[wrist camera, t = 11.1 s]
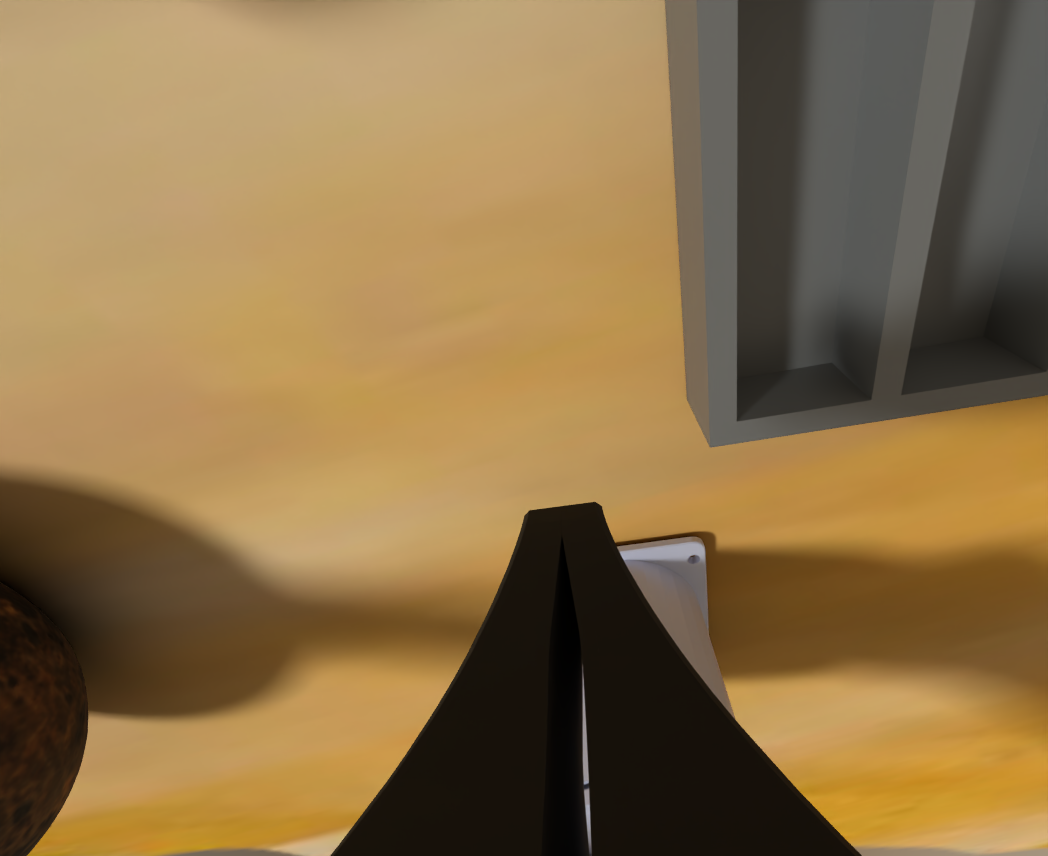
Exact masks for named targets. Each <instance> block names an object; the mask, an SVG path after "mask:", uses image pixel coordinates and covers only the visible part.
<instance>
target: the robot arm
mask: <svg viewBox="0 0 1048 856" xmlns="http://www.w3.org/2000/svg"><path fill="white" fill-rule="evenodd" d="M692 555H696V556H694V557H690V556H692ZM331 856H861V854H860V853H859V852H858V851H857V850H856V849H855V848H854V847H853V846H852V845H851V844H850V843H849V842H848V841H847V840H846V839H845V838H844V837H843V836H842V835H841V834H840V833H839V832H838V831H837V830H836V829H835V828H834V827H833V826H832V825H831V824H830V823H829V822H828V821H827V820H826V819H825V818H824V817H823V816H822V815H821V814H820V812H819V811H818V810H817V809H816V808H815V807H814V806H813V805H812V804H811V803H810V802H809V801H808V800H807V799H806V798H805V797H804V796H803V795H802V794H801V793H800V792H799V791H798V790H797V788H796V787H795V786H794V785H793V784H792V783H791V782H790V781H789V780H788V778H787V777H786V776H785V775H784V774H783V773H782V772H781V771H780V769H779V768H778V767H777V766H776V765H775V764H774V763H773V762H772V761H771V759H770V758H769V757H768V756H767V755H766V754H765V753H764V752H763V751H762V749H761V748H760V747H759V746H758V745H757V744H756V743H755V742H754V741H753V739H752V738H751V737H750V736H749V735H748V734H747V733H746V732H745V730H744V729H743V728H742V727H741V726H740V725H739V724H738V722H737V721H736V720H735V716H734V713H733V710H732V707H731V704H730V700H729V697H728V694H727V691H726V688H725V684H724V681H723V678H722V675H721V672H720V669H719V665H718V662H717V659H716V656H715V653H714V649H713V646H712V643H711V640H710V637H709V625H708V600H707V576H706V551H705V546H704V543H703V541H702V540H701V539H700V538H698V537H684V538H677V539H669V540H662V541H654V542H647V543H640V544H632V545H625V546H618V547H617V546H616V544H615V542H614V540H613V537H612V535H611V533H610V530H609V528H608V525H607V523H606V520H605V517H604V514H603V510H602V506H601V505H599V504H598V503H596V502H591V503H583V504H575V505H568V506H560V507H553V508H545V509H537V510H530V511H529V512H528V513H527V514H526V515H525V516H524V520H523V524H522V528H521V531H520V534H519V537H518V540H517V543H516V546H515V549H514V552H513V554H512V557H511V560H510V562H509V565H508V568H507V570H506V573H505V575H504V577H503V580H502V582H501V584H500V587H499V589H498V591H497V594H496V596H495V598H494V601H493V603H492V605H491V607H490V610H489V612H488V614H487V616H486V618H485V620H484V622H483V624H482V626H481V628H480V630H479V632H478V634H477V636H476V638H475V640H474V642H473V644H472V646H471V648H470V650H469V652H468V654H467V656H466V657H465V659H464V661H463V663H462V665H461V667H460V668H459V670H458V672H457V674H456V675H455V677H454V679H453V681H452V682H451V684H450V686H449V688H448V689H447V691H446V693H445V694H444V696H443V698H442V699H441V701H440V703H439V704H438V706H437V708H436V709H435V711H434V712H433V714H432V716H431V717H430V719H429V720H428V722H427V723H426V725H425V726H424V728H423V729H422V731H421V732H420V734H419V735H418V737H417V738H416V740H415V741H414V743H413V745H412V746H411V748H410V749H409V751H408V752H407V754H406V755H405V757H404V758H403V759H402V761H401V762H400V764H399V765H398V767H397V768H396V770H395V771H394V772H393V774H392V775H391V777H390V778H389V779H388V781H387V782H386V784H385V785H384V786H383V788H382V789H381V790H380V791H379V793H378V794H377V795H376V797H375V798H374V799H373V801H372V802H371V803H370V805H369V806H368V807H367V809H366V810H365V811H364V813H363V814H362V815H361V817H360V818H359V819H358V821H357V822H356V823H355V824H354V826H353V827H352V828H351V830H350V831H349V832H348V834H347V835H346V836H345V838H344V839H343V840H342V842H341V843H340V844H339V846H338V847H337V848H336V849H335V851H334V852H333V853H332V854H331Z"/></svg>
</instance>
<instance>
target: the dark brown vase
mask: <svg viewBox="0 0 1048 856" xmlns="http://www.w3.org/2000/svg"><path fill="white" fill-rule="evenodd" d="M87 733H88V702H87V693H86V686H85V680H84V677H83V673H82V670H81V667H80V665H79V663H78V660H77V658H76V656H75V654H74V652H73V649H72V648H71V646H70V644H69V642H68V641H67V640H66V638H65V637H64V635H63V634H62V632H61V631H60V630H59V629H58V628H57V627H56V625H55V624H54V623H53V622H52V621H51V620H50V619H49V618H48V617H47V616H46V615H45V614H44V613H43V612H42V611H41V609H40V608H37V607H36V606H35V605H33V604H32V603H30V602H29V601H28V600H27V599H25V598H24V597H23V596H21V595H19V594H18V593H17V592H15V591H14V590H12V589H11V588H9V587H7V586H5V585H4V584H2V583H0V856H27V855H28V854H29V853H30V851H31V850H32V849H33V848H34V847H35V845H36V844H37V843H38V842H39V840H40V839H41V838H42V837H43V835H44V834H45V833H46V831H47V830H48V829H49V827H50V826H51V824H52V823H53V821H54V820H55V818H56V817H57V815H58V814H59V812H60V810H61V809H62V807H63V805H64V803H65V801H66V799H67V797H68V796H69V793H70V791H71V789H72V787H73V784H74V782H75V779H76V777H77V774H78V772H79V769H80V766H81V763H82V758H83V754H84V750H85V745H86V740H87Z"/></svg>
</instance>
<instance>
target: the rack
mask: <svg viewBox="0 0 1048 856" xmlns="http://www.w3.org/2000/svg"><path fill="white" fill-rule="evenodd" d="M665 7H666V25H667V44H668V62H669V80H670V98H671V116H672V135H673V153H674V171H675V189H676V208H677V226H678V244H679V262H680V281H681V299H682V317H683V335H684V353H685V372H686V390H687V401H688V403H689V405H690V407H691V409H692V411H693V413H694V415H695V417H696V419H697V421H698V423H699V426H700V428H701V430H702V432H703V434H704V436H705V438H706V440H707V442H708V444H709V446H710V447H717V446H723V445H730V444H736V443H743V442H749V441H755V440H762V439H768V438H775V437H781V436H788V435H794V434H800V433H807V432H813V431H820V430H826V429H833V428H839V427H845V426H852V425H858V424H865V423H871V422H878V421H884V420H890V419H897V418H903V417H910V416H916V415H923V414H929V413H935V412H942V411H948V410H955V409H961V408H968V407H974V406H980V405H987V404H993V403H1000V402H1006V401H1013V400H1019V399H1025V398H1032V397H1038V396H1045V395H1048V0H665Z"/></svg>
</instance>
